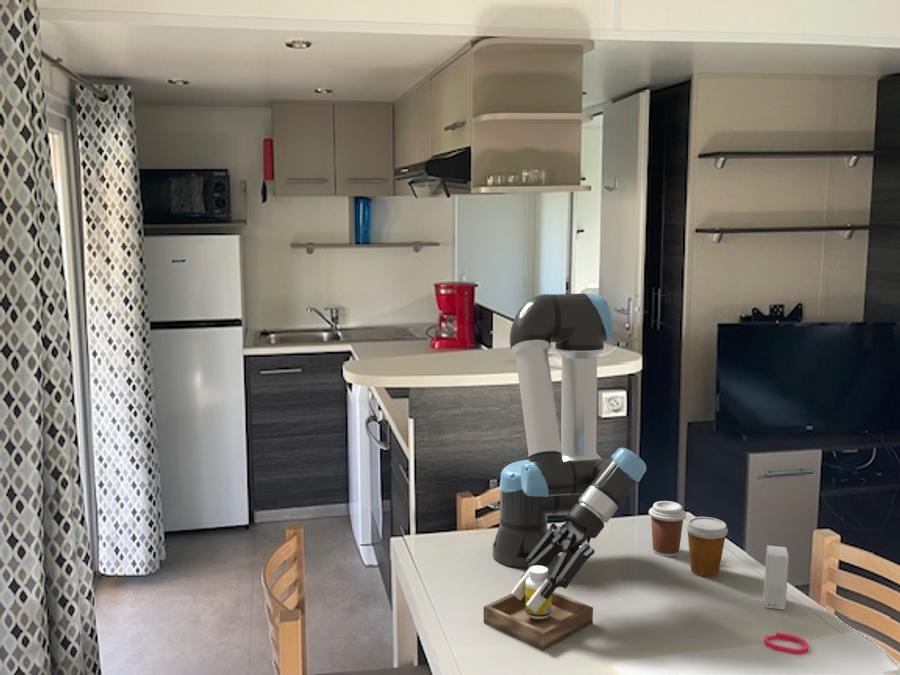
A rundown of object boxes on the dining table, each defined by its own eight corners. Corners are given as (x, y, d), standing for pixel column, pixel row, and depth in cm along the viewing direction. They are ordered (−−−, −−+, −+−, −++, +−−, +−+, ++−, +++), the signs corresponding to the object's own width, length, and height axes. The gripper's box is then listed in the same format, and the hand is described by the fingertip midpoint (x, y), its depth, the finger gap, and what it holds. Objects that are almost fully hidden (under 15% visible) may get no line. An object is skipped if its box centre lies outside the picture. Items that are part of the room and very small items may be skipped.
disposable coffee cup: (727, 581, 198) (730, 532, 196) (685, 578, 200) (687, 529, 198) (723, 565, 207) (725, 517, 205) (682, 561, 209) (684, 514, 207)
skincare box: (785, 610, 184) (789, 557, 182) (764, 608, 185) (767, 555, 183) (783, 598, 190) (786, 546, 188) (763, 596, 191) (766, 544, 189)
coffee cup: (647, 556, 212) (649, 510, 210) (647, 542, 221) (648, 498, 219) (685, 560, 210) (687, 513, 208) (683, 546, 219) (685, 500, 217)
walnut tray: (483, 622, 178) (483, 606, 178) (533, 598, 190) (533, 583, 189) (543, 650, 167) (543, 633, 167) (592, 623, 178) (593, 607, 178)
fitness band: (809, 644, 170) (809, 637, 170) (807, 658, 165) (807, 651, 165) (765, 636, 174) (766, 629, 173) (762, 649, 168) (763, 642, 168)
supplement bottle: (523, 608, 181) (523, 564, 179) (548, 607, 181) (549, 563, 180) (527, 620, 175) (528, 575, 174) (553, 619, 176) (554, 574, 174)
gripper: (628, 537, 174) (558, 631, 169) (576, 509, 190) (511, 594, 186) (607, 517, 171) (536, 611, 166) (556, 490, 187) (490, 575, 183)
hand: (523, 602), depth 176 cm, fingers closed on supplement bottle, 5 cm apart
